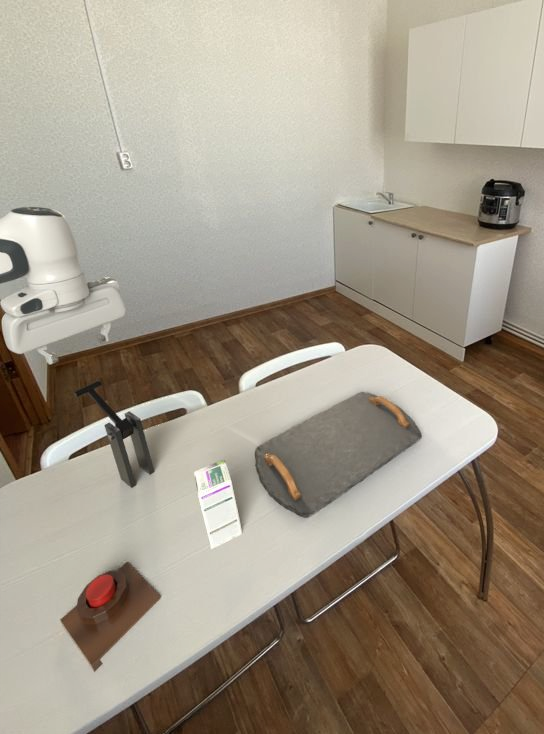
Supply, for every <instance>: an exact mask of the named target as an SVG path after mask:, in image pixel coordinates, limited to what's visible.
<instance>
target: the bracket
mask: <svg viewBox="0 0 544 734" xmlns="http://www.w3.org/2000/svg"><path fill="white" fill-rule="evenodd" d="M124 417H125V418H126V419H127V420H128V421H129V422H130V423H131V424H132V425H133V428H134V433H133V434H132V435H130V438H131V442H132V445H133V449H134V452H135V456H136V460H137V463H138V466H139V467H140V469H142V470H143V471H144V472H146V473H147V474H148V475H149V476H151V475H153V474H154V473H155V469H154V465H153V460H152V457H151V454H150V453H151V452H150V450H149V446H148V442H147V439H146V435H145V431H144V428H143V427H144V426H143V424H142V420H141V417H139V416H137V415H136V414H134V413H133V412H131V411H130V410H128V411H126V412H125V413H124ZM103 427H104V428H105V429H104V430H105V432H106V435H107V439H108V442H109V445H110V448H111V452H112V454H113V459H114V461H115V464H116V468H117V471H118V474H119V477H120V480H121V481H122V482H124V484H126V485H127V486H128V487H129V488H131V489H133V488H135V486H137V482H136V479H135V476H134V472H133V469H132V466H131V462H130V459H129V456H128V452H127V448H126V445H125V441H124V439H123V438H122V434H121V431H120V430H119V429H118V428H116V427H115V424H113V423H111V422H108V423H105V424H104V426H103Z"/></svg>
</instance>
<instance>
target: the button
mask: <svg viewBox="0 0 544 734" xmlns="http://www.w3.org/2000/svg"><path fill="white" fill-rule="evenodd" d="M94 579H95V578H94ZM94 579H93V580H94ZM115 590H116V585H115V583H114V580H113V577H112V576H110V575H103V576H100V577H98V578H97V579H95V580H94V581H93V582H92V583H91V584H90V585H89V587H88V589H87V591H86V597H87V600H88V602H89V605H90V606H92V607H99V606H102V605H104V604H105V603H106V602H108V601H109V600H110V599H111V597H112V596H113V595H114V593H115Z"/></svg>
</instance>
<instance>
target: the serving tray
mask: <svg viewBox="0 0 544 734" xmlns="http://www.w3.org/2000/svg"><path fill="white" fill-rule="evenodd" d="M422 438H423V435H422V432H421V430H420V428H419V427H418V425H417V424H416V422H415V421H414V419H413V418H412V417H411V416H410V415H408V414H407V413H406V412H405V410H403V408H401V407H400V406H398V405H397V404H395V403H394V402H392V401H390V400H389V399H387V398H386V397H384V396H381V395H376V394H374V393H373V394H372V393H370V392H366V391H361V392H358V393H356V394H354V395H352V396H350V397H349V398H347V399H345V400H343V401H340V402H339V403H337V404H334V405H333V406H332V407H330V408H328V409H326V410H325V411H322V412H319V413H317V414H315V415H313V416H311V417H310V418H308V419H306V420H304V421H302V422H301V423H298V424H296V425H294V426H291V427H290V428H289V429H287V430H285V431H284V432H282V433H280V434H278V435H277V436H274V437H272V438H270V439H269V440H267V441H265V442H262V443H261V444H259V445H258V446H257V447H256V448H255V450H254V459H255V465H254V466H255V470H256V474H257V475H258V480H259V482H260V484H261V485H262V486H263V488H264V490H265V492H267V495H269V497H270V498H272V499H273V500H274V501H275V502H276V503H277V504H279V505H280V506H282V507H283V509H285V510H288V511H290V512H291V513H293V514H295V515H297V516H298V517H300V518H304V519H308V518H311V517H313V516H314V515H315V514H317V513H318V512H320V511H321V510H323V509H324V508H326V507H327V506H328V505H330V504H331V503H333V502H334V501H335V500H338V498H339V497H341V496H342V495H344V494H346V493H348V491H350V490H351V489H352V488H353V487H356V486H357V485H358V484H359V483H361V482H363V481H364V480H365V479H367V478H368V477H369V476H371V475H373V474H374V473H375V472H376V471H378V470H380V469H381V468H382V467H383V466H385V465H387V464H388V463H389V462H391V461H392V460H394V459H395V458H396V457H398V456H399V455H401V454H403V452H405V451H406V450H408V449H409V448H410V447H412V446H413V445H415V444H416V443H418V442H419V441H420V440H421V439H422Z"/></svg>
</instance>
